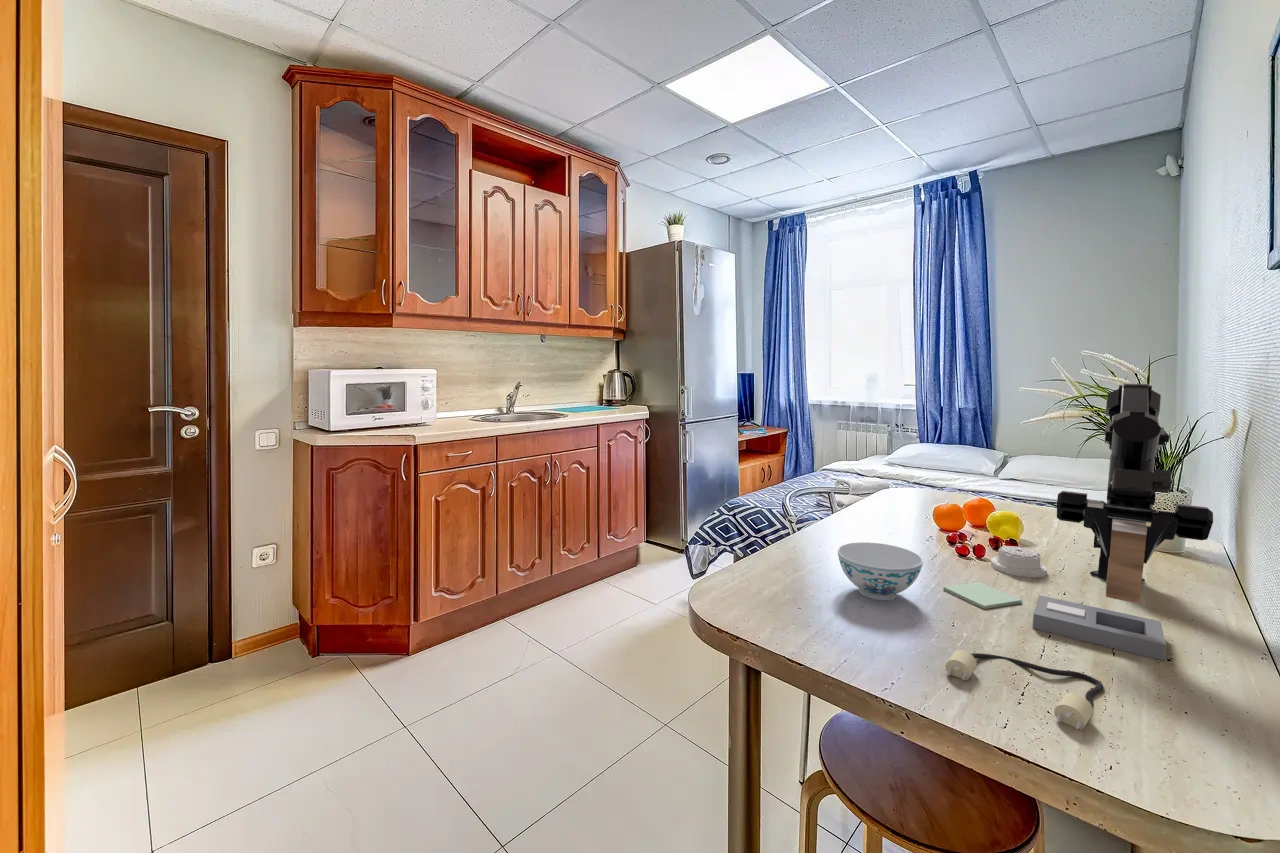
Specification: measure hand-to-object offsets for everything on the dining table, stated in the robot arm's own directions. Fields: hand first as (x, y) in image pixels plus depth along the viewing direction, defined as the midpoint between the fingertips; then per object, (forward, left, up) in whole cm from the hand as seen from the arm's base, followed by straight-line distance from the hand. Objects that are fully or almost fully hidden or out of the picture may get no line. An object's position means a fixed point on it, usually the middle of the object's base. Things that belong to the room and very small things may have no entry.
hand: (1126, 559), depth 86 cm
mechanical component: (-15, -29, -14) cm, 35 cm away
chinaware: (+24, -27, -14) cm, 38 cm away
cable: (+26, +4, -14) cm, 30 cm away
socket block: (0, -3, -13) cm, 14 cm away
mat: (+6, -20, -13) cm, 25 cm away
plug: (-1, -1, -7) cm, 7 cm away
